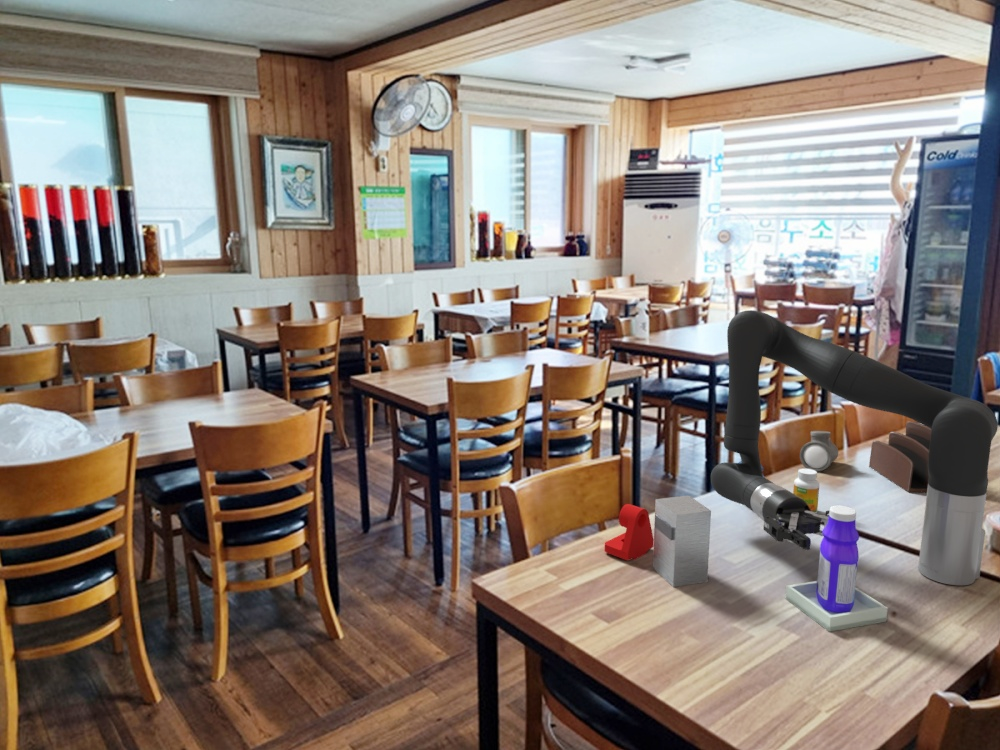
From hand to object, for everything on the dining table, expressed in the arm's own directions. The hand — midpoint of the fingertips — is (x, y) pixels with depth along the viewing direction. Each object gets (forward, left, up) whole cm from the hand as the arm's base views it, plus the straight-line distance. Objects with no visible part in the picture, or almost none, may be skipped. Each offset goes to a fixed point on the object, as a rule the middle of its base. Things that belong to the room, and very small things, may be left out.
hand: (831, 542), depth 126 cm
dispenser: (+19, -17, -11) cm, 28 cm away
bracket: (+24, -29, -12) cm, 39 cm away
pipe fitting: (-49, -63, -12) cm, 81 cm away
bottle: (0, +2, -11) cm, 11 cm away
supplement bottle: (-24, -37, -11) cm, 45 cm away
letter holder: (-63, -48, -12) cm, 80 cm away
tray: (0, +2, -11) cm, 12 cm away
